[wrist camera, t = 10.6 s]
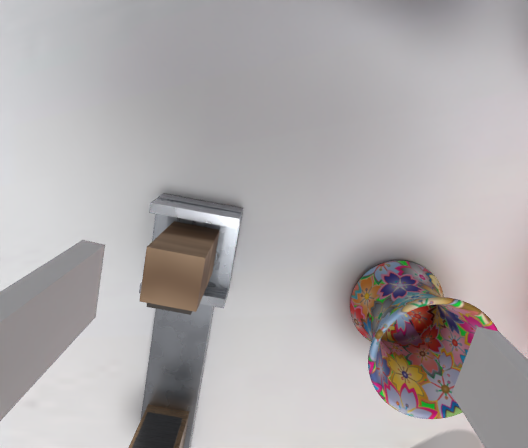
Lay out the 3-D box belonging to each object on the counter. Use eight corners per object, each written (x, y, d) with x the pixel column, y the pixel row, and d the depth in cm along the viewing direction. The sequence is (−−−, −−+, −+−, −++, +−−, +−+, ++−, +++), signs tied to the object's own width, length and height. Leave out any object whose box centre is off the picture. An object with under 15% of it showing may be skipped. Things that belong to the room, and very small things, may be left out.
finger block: (173, 221, 36) (147, 247, 29) (219, 230, 36) (205, 258, 29) (166, 271, 37) (138, 309, 30) (211, 279, 38) (195, 319, 30)
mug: (324, 291, 40) (342, 349, 29) (408, 233, 38) (458, 272, 28) (395, 383, 42) (436, 467, 31) (478, 330, 40) (549, 401, 30)
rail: (163, 193, 38) (126, 216, 28) (243, 208, 38) (232, 236, 28) (131, 439, 44) (90, 529, 34) (200, 451, 44) (179, 543, 34)
